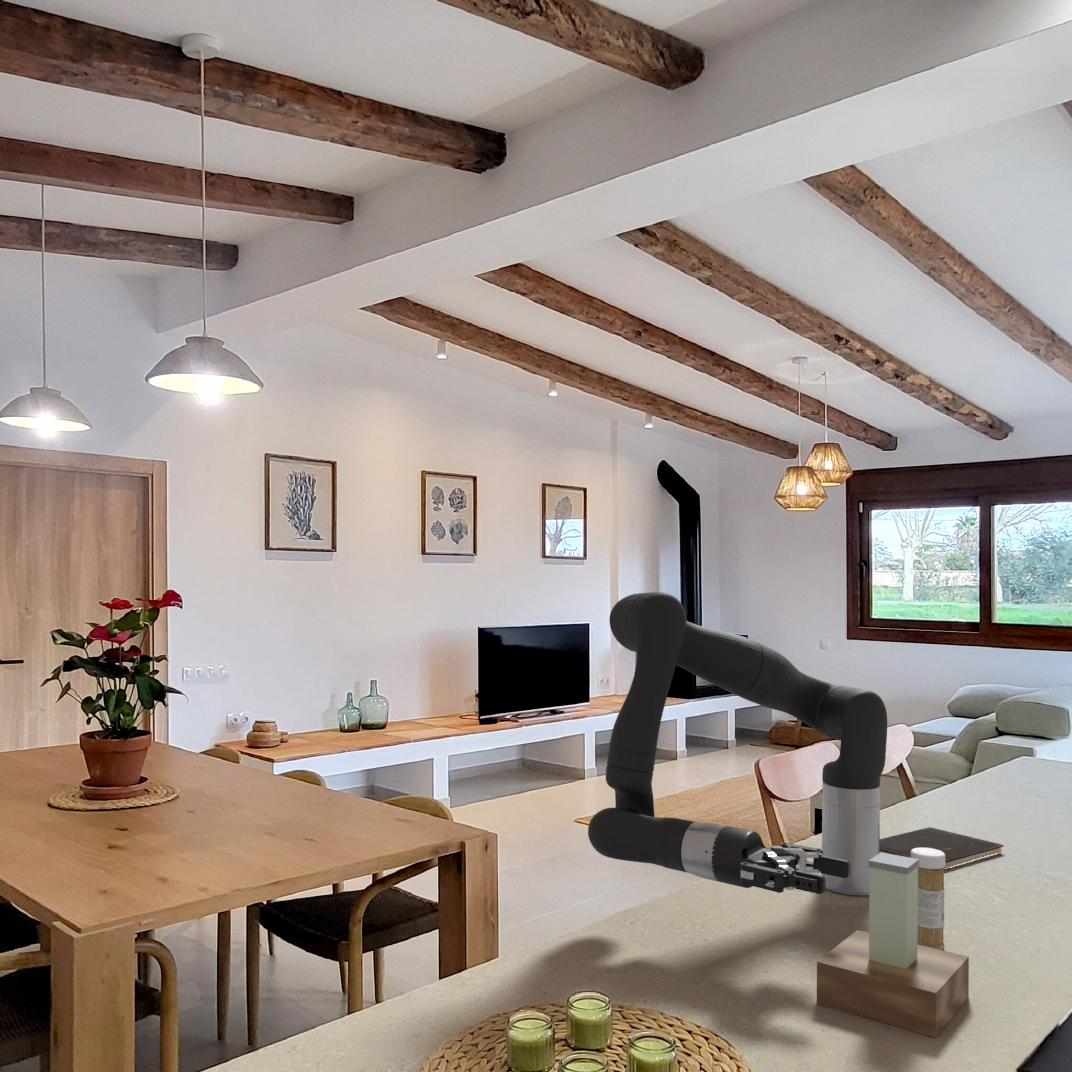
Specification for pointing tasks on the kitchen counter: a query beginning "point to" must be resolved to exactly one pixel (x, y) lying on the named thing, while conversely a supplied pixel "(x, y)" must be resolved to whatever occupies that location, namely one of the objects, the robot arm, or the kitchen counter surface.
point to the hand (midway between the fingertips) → (837, 877)
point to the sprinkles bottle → (930, 896)
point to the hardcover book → (940, 845)
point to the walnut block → (894, 985)
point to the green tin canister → (893, 910)
